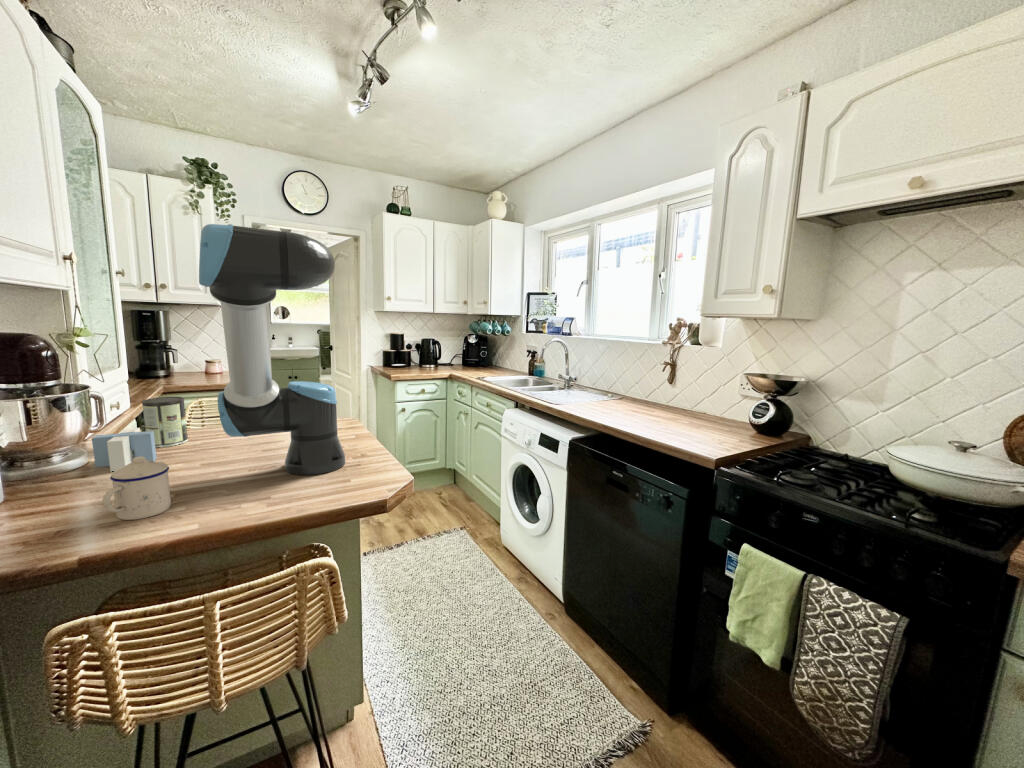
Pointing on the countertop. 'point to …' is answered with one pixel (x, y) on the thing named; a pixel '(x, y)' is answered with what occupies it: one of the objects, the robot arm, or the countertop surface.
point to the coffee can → (166, 420)
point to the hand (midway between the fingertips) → (254, 362)
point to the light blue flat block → (138, 441)
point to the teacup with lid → (139, 490)
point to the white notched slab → (120, 450)
